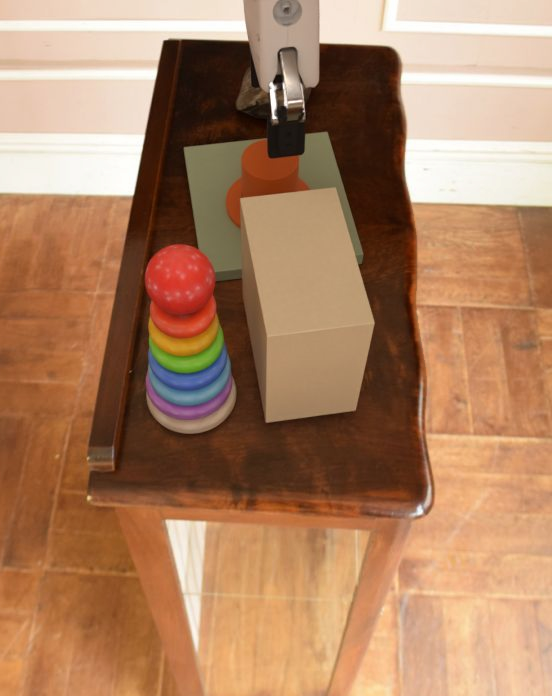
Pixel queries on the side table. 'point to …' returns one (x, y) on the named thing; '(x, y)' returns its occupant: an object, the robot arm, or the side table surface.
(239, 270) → the stand board
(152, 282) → the stacking toy
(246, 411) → the side table surface
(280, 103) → the fossilized seashell
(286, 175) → the hat
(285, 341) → the tall cardboard box
